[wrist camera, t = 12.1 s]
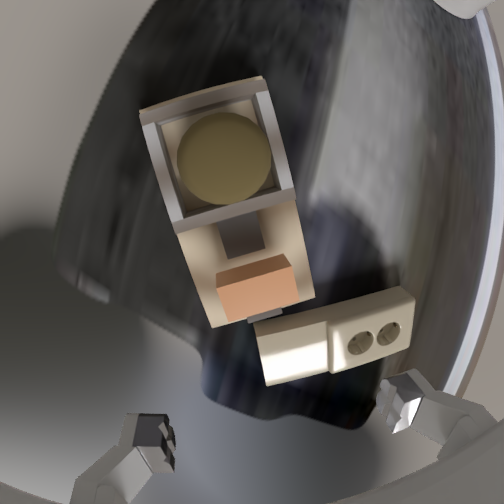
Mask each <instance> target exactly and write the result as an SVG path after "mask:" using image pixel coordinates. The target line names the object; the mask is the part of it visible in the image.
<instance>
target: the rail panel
mask: <svg viewBox="0 0 504 504" xmlns="http://www.w3.org/2000/svg"><path fill="white" fill-rule="evenodd" d="M139 112H140V115H139V117H140V121H141V125H142V128H143V132H144V135H145V139H146V142H147V146H148V149H149V153H150V156H151V160H152V163H153V166H154V170H155V173H156V176H157V179H158V183H159V186H160V189H161V192H162V195H163V198H164V201H165V204H166V208H167V211H168V214H169V217H170V220H171V223H172V225H173V228H174V231H175V234H177V236H178V239H179V242H180V245H181V247H182V250H183V253H184V256H185V259H186V261H187V264H188V267H189V270H190V272H191V275H192V278H193V280H194V283H195V286H196V288H197V291H198V294H199V296H200V299H201V301H202V304H203V306H204V309H205V312H206V314H207V317H208V319H209V322H210V324H211V326H212V328H214V327H218V326H222V325H225V324H229V323H233V322H236V321H240V320H243V319H247V320H248V323H252V322H255V321H259V320H262V319H266V318H269V317H272V316H276V315H279V314H282V309H281V308H284V307H287V306H290V305H293V304H296V303H299V302H303V301H306V300H309V299H312V298H315V293H314V288H313V283H312V277H311V272H310V268H309V263H308V258H307V253H306V248H305V243H304V239H303V234H302V230H301V225H300V221H299V216H298V212H297V208H296V203H295V199H296V194H295V190H294V186H293V182H292V178H291V174H290V170H289V165H288V162H287V158H286V154H285V150H284V146H283V142H282V138H281V134H280V131H279V127H278V123H277V120H276V116H275V112H274V109H273V105H272V102H271V98H270V95H269V91H268V88H267V85H266V81H265V79H263V78H262V76H258V77H253V78H248V79H244V80H239V81H235V82H231V83H227V84H223V85H219V86H215V87H211V88H207V89H204V90H200V91H197V92H193V93H190V94H187V95H183V96H180V97H177V98H174V99H171V100H168V101H165V102H162V103H159V104H156V105H153V106H151V107H148V108H145V109H143V110H140V111H139ZM218 112H229V113H236V114H239V115H242V116H244V117H247V118H249V119H250V120H251V121H253V122H254V123H255V124H257V125H258V126H259V127H260V128H261V130H262V131H263V133H264V134H265V136H266V137H267V139H268V142H269V146H270V150H271V168H270V170H269V173H268V175H267V178H266V181H265V182H264V183H263V184H262V186H261V187H260V188H259V189H258V191H257V192H256V193H254V194H253V195H251V196H250V197H248V198H247V199H245V200H244V201H240V202H237V203H234V204H230V205H225V204H213V203H210V202H207V201H204V200H201V199H200V198H198V197H197V196H196V195H194V194H193V193H191V192H190V191H189V190H188V188H187V187H186V185H185V184H184V183H183V181H182V180H181V177H180V174H179V171H178V168H177V150H178V147H179V144H180V141H181V139H182V136H183V135H184V134H185V132H186V131H187V130H188V129H189V127H190V126H191V125H192V124H193V123H195V122H196V121H198V120H199V119H201V118H202V117H204V116H207V115H211V114H214V113H218ZM279 254H284V255H285V256H286V258H287V259H288V261H289V262H290V264H291V265H292V268H293V273H294V277H295V282H296V286H297V291H298V295H299V300H300V301H298V302H295V303H292V304H289V305H286V306H282V307H279V308H276V309H273V310H269V311H266V312H263V313H259V314H256V315H252V316H249V317H246V318H242V319H239V320H235V321H231V322H228V320H227V317H226V314H225V311H224V309H223V306H222V303H221V300H220V298H219V295H218V292H217V289H216V273H218V272H222V271H225V270H229V269H232V268H235V267H239V266H242V265H246V264H249V263H252V262H256V261H259V260H263V259H266V258H269V257H273V256H276V255H279Z"/></svg>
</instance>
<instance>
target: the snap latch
mask: <svg viewBox="0 0 504 504" xmlns="http://www.w3.org/2000/svg"><path fill="white" fill-rule="evenodd" d="M216 289H217V292H218V295H219V298H220V300H221V303H222V306H223V309H224V311H225V314H226V317H227V320H228V322H231V321H235V320H239V319H242V318H246V317H249V316H252V315H256V314H259V313H263V312H266V311H269V310H273V309H276V308H279V307H282V306H286V305H289V304H292V303H295V302H298V301H300V300H299V295H298V291H297V286H296V282H295V277H294V273H293V268H292V265H291V264H290V262H289V261H288V259H287V258H286V256H285V255H284V254H279V255H276V256H273V257H269V258H266V259H263V260H259V261H256V262H252V263H249V264H246V265H242V266H239V267H235V268H232V269H229V270H225V271H222V272H218V273H216Z"/></svg>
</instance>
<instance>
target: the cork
mask: <svg viewBox="0 0 504 504" xmlns="http://www.w3.org/2000/svg"><path fill="white" fill-rule="evenodd" d="M177 168H178V171H179V174H180V177H181V180H182V181H183V183H184V184H185V185H186V187H187V188H188V190H189V191H190V192H191V193H193V194H194V195H196V196H197V197H198V198H200V199H201V200H204V201H207V202H210V203H213V204H225V205H230V204H234V203H237V202H240V201H244V200H245V199H247V198H248V197H250V196H251V195H253V194H254V193H256V192H257V191H258V189H259V188H260V187H261V186H262V184H263V183H264V182H265V181H266V178H267V175H268V173H269V170H270V168H271V150H270V146H269V142H268V139H267V137H266V136H265V134H264V133H263V131H262V130H261V128H260V127H259V126H258V125H257V124H255V123H254V122H253V121H251V120H250V119H249V118H247V117H244V116H242V115H239V114H236V113H229V112H218V113H214V114H211V115H207V116H204V117H202V118H201V119H199V120H198V121H196V122H195V123H193V124H192V125H191V126H190V127H189V129H188V130H187V131H186V132H185V134H184V135H183V136H182V139H181V141H180V144H179V147H178V150H177Z"/></svg>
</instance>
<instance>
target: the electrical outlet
mask: <svg viewBox="0 0 504 504" xmlns="http://www.w3.org/2000/svg"><path fill="white" fill-rule="evenodd" d="M414 310H415V298H414V297H413V296H411V295H410V294H409V293H408V292H407V291H405V290H404V289H403V288H402V287H400V286H396V287H392V288H389V289H386V290H382V291H379V292H375V293H372V294H368V295H365V296H361V297H358V298H354V299H350V300H346V301H343V302H339V303H335V304H331V305H327V306H323V307H319V308H315V309H311V310H307V311H303V312H299V313H295V314H290V315H286V316H282V317H277V318H273V319H268V320H263V321H259V322H254V323H253V325H254V330H255V335H256V340H257V345H258V350H259V354H260V359H261V364H262V369H263V373H264V377H265V382H266V386H270V385H274V384H279V383H283V382H287V381H291V380H295V379H299V378H303V377H307V376H311V375H315V374H318V373H322V372H326V371H330V372H331V373H336V372H340V371H343V370H346V369H349V368H352V367H356V366H359V365H362V364H365V363H368V362H371V361H373V360H376V359H379V358H382V357H385V356H387V355H390V354H393V353H396V352H398V351H401V350H403V349H406V348H408V347H409V345H410V339H411V333H412V325H413V318H414Z"/></svg>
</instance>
